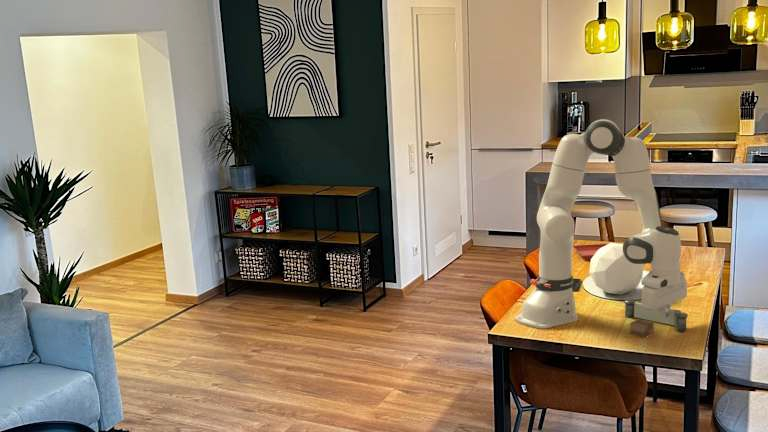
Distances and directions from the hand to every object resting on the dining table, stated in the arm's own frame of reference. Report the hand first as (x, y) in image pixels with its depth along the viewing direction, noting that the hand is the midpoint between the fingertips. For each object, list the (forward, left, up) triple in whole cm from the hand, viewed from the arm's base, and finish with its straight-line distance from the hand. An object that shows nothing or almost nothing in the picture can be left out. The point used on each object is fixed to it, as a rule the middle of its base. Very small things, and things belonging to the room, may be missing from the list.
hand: (664, 316), depth 231 cm
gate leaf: (+1, +4, -3) cm, 5 cm away
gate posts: (0, +4, -3) cm, 5 cm away
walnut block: (-11, +1, -3) cm, 12 cm away
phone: (+14, +50, -4) cm, 52 cm away
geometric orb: (+19, +32, -3) cm, 37 cm away
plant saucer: (+58, +70, -4) cm, 91 cm away
